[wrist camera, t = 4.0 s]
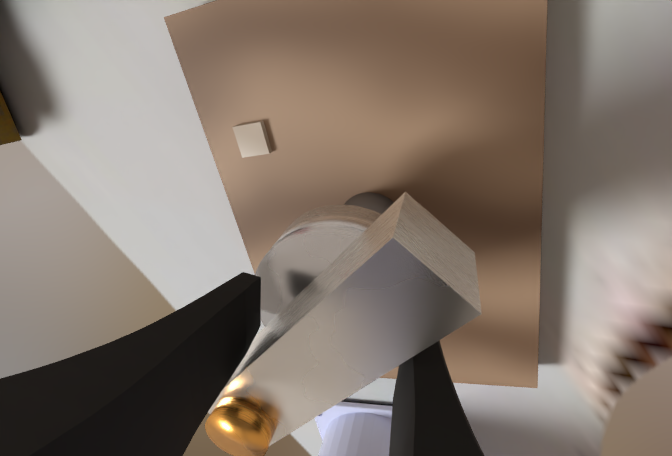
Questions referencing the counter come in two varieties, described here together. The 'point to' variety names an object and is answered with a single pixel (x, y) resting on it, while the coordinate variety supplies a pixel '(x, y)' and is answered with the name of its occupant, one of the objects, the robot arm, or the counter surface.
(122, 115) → the counter surface
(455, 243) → the lever with brass knob
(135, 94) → the counter surface
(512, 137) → the plate
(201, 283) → the counter surface
